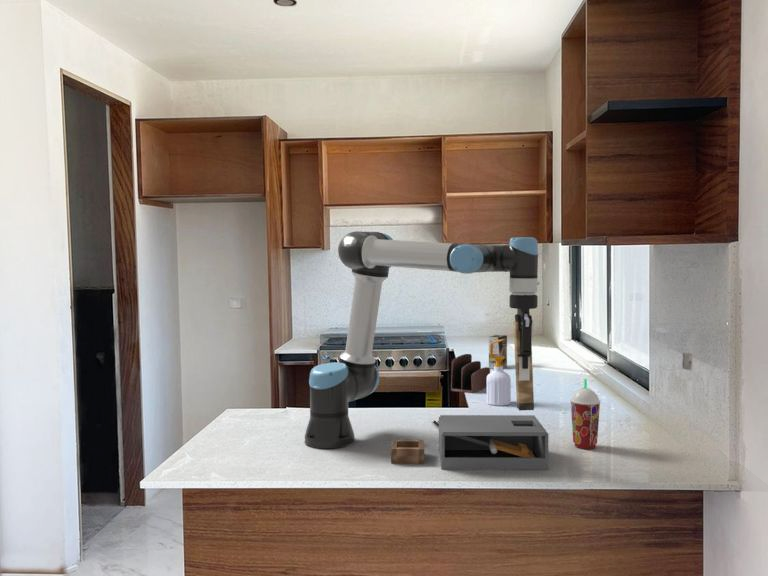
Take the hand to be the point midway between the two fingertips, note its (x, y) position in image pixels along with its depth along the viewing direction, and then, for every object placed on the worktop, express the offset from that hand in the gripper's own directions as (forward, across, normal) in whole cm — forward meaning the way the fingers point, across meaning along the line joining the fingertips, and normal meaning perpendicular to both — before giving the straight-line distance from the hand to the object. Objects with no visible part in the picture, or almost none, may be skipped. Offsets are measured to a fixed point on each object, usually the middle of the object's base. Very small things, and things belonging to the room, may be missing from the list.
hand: (522, 378), depth 179 cm
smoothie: (+23, +12, -20) cm, 33 cm away
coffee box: (+23, +147, -12) cm, 149 cm away
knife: (+23, +29, +20) cm, 42 cm away
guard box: (+23, 0, +9) cm, 24 cm away
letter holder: (+23, +97, +6) cm, 100 cm away
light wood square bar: (+8, 0, -1) cm, 8 cm away
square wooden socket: (+23, 0, +32) cm, 39 cm away
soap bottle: (+23, +68, -2) cm, 72 cm away
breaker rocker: (+18, 0, +9) cm, 20 cm away
